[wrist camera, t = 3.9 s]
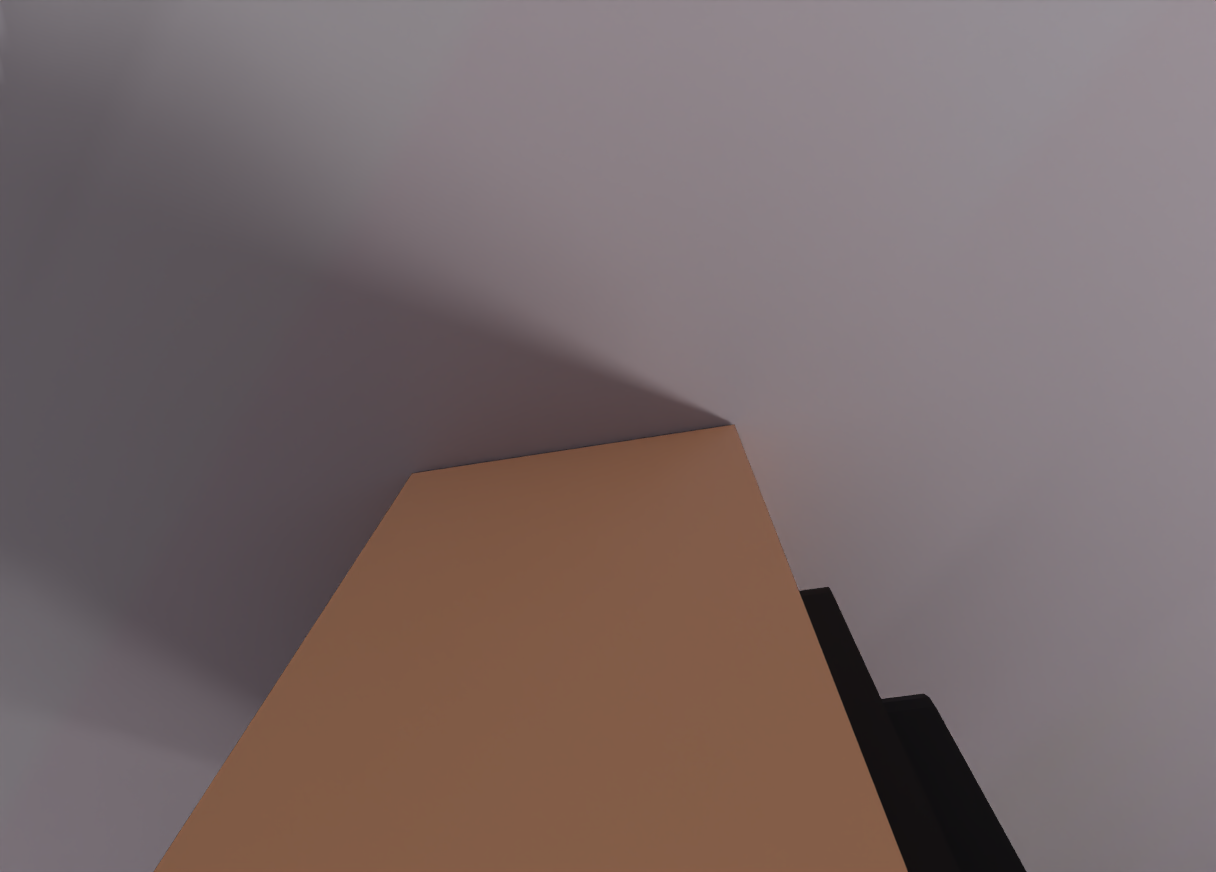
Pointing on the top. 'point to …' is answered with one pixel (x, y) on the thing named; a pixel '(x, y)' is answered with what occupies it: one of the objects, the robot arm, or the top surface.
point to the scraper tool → (556, 688)
